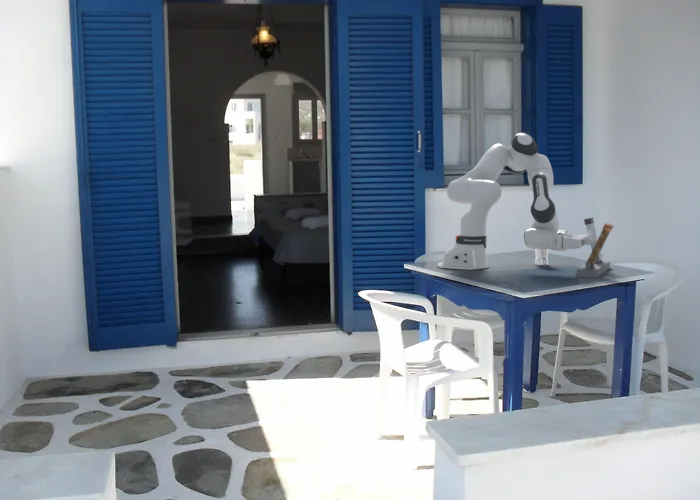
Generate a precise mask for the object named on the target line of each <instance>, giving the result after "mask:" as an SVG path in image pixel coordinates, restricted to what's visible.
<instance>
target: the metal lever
mask: <svg viewBox="0 0 700 500" xmlns="http://www.w3.org/2000/svg"><path fill="white" fill-rule="evenodd" d="M583 221H584V225H585V228H586V232H587V235H589V239H596V240H598V236H597V230H596V227H595V221H594V217H589V218H584V219H583ZM594 246H595V245H593V244H590V248H591V251H592V250H593V248H594ZM601 255H602V253H601V251H600V253H599V255H598V257H599V262H600V261H601V260H602V261H603V255H602V256H601Z"/></svg>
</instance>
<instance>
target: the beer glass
mask: <svg viewBox="0 0 700 500" xmlns="http://www.w3.org/2000/svg"><path fill="white" fill-rule="evenodd" d="M549 251H550V249H546V250H540V249H534V252H535V259H534V260H535V261H534V265H535V266H549V260H548V259H549V257H548V256H549Z"/></svg>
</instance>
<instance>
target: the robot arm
mask: <svg viewBox="0 0 700 500" xmlns="http://www.w3.org/2000/svg"><path fill="white" fill-rule="evenodd" d="M538 151H539V146H538V145H537V143H536V140H535V139H534V137H533V136H532V135H530V134H528V133H526V132H519V133H517V134H516V135H515V136H514V137H513V138H512V140H511V142H510V145H509V146H508V147H507V146H506V145H504V144H501V143H496V144H494V145H492V146H491V147H490V148H488V149H487V150H486V151H485V152H484V154H483V155H482V157H481V158H480V159H479V161H478V163H477V164H476V165H475V166H474V167H473V168H472V169H471V170H470V171H468V172H467V173H466V174H464V175H463V176H461V177H459V178H457V179H454V180H452V181H450V182H449V184H448V185H447V189H446V195H447V197H448V199H449V201H451V202H453V203H457V204H461V205H471V206H470V210H469V211H468V212H466V213H465V214H463V216H462V217H461V218H460V234H456V235H455V244H453V245H452V246H451V247H449V248H448V249H447V250H446V251H445V252H444V253H443V257H442V261H441V262H438V263H437V267H438V268H440V269H451V270H452V269H453V270H455V269H456V270H470V271H471V270H480V269H487V268H489V263H488V262H489V261H488V257H487V247H488V245H487V244H488V239H487V237H488V236H487V235H486V234H487V233H486V231H487V219H488V216H489V212H490V211H491V209H492V207H493V206H495V205H496V204H497V203H498V202H499V201H500V199H501V197H502V188H501V187H502V186H501V184H500V183H499V182H498V181H497V180H498V178H499V177H500V175H501V173H502V172H503V170H505V171H506V172H507V173H508V174H510V175H511V174H512V175H516V176H520V175H523V174H524V173H525V172H526V173H527V181H528V185H529V188H530V190H531V192H532V193H533V201H532V203H531V206H530V213H531V216H532V218H533V223H532V225H531V226H530V227H528V228H527V229H525V230H524V233H523V238H524V239H523V241H524V243H525V246H526V247H527V248H530V249H534V250H535V249H540V250H546V249H549V250H552V251H557V252H558V251H559V252H560V251H561V252H566V251H567V250H572V249H573V250H576V249H580V248H582V247H585V246H586V245H590V244H593V245H595V244H596V242H597V240H596V239H589V235H588V234H575V233H574V234H572V233H571V232H569V231H568V229H559V226H560V223H559V221H560V220H559V217H558V214H557V212H556V205H555V202H554V201H553V200H552V199H551V198H550V195H549V192H550V191H552V189H553V187H554V171H553V167H552V165H551V162H550V160H549V158H548V157H547V156H546V155H544V154H542V153H541V154H540V153H538ZM590 246H591V245H590Z"/></svg>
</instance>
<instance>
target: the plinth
mask: <svg viewBox="0 0 700 500" xmlns="http://www.w3.org/2000/svg"><path fill="white" fill-rule="evenodd" d="M601 256H602V257H603V255H602V254H601ZM610 268H611V261H609V260H608V261H607V260H603V259H602V260H601V261H600V262H599V257H597V259H596V261H595V263H594V265H593V266H592V267H591V262H587V261H585V264H583V265H581V266H579V268H577V269H576V277H577V278H590V279H591V278H592V279H597V278H599V277H601V276H602V275H603V274H604V273H606V272H607V271H608V270H609V269H610Z"/></svg>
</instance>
